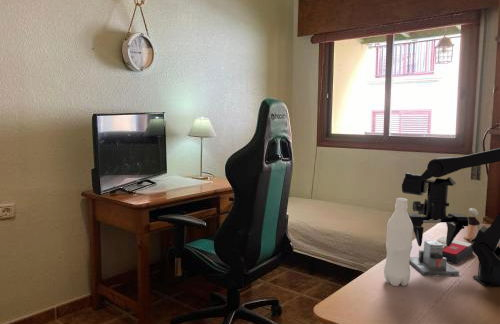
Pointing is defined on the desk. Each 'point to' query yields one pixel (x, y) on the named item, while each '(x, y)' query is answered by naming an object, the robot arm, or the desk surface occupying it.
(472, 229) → the grandmother figurine
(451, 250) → the button control pad
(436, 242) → the column
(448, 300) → the desk surface
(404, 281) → the water bottle
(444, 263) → the stand base
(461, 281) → the desk surface
